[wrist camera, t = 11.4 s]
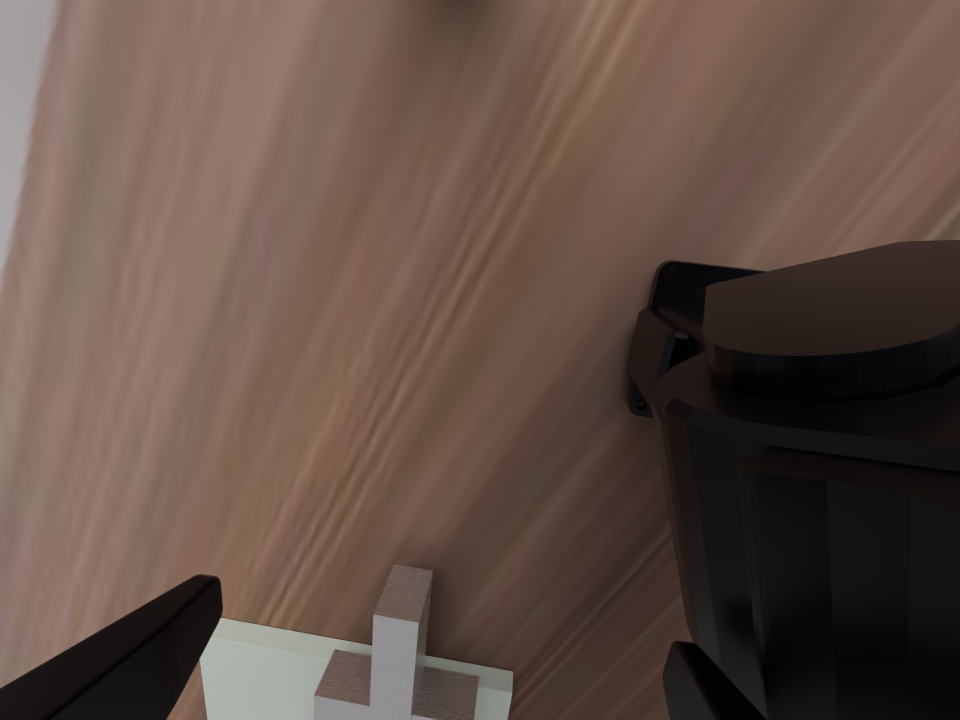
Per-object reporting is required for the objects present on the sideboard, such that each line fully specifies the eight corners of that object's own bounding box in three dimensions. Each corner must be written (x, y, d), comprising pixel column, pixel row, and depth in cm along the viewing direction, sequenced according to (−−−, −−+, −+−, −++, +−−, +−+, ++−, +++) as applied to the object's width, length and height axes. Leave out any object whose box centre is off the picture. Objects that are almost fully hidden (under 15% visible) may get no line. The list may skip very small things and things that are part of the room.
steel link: (335, 553, 22) (306, 602, 20) (493, 580, 22) (487, 635, 19) (334, 746, 27) (310, 808, 24) (464, 773, 26) (456, 840, 24)
